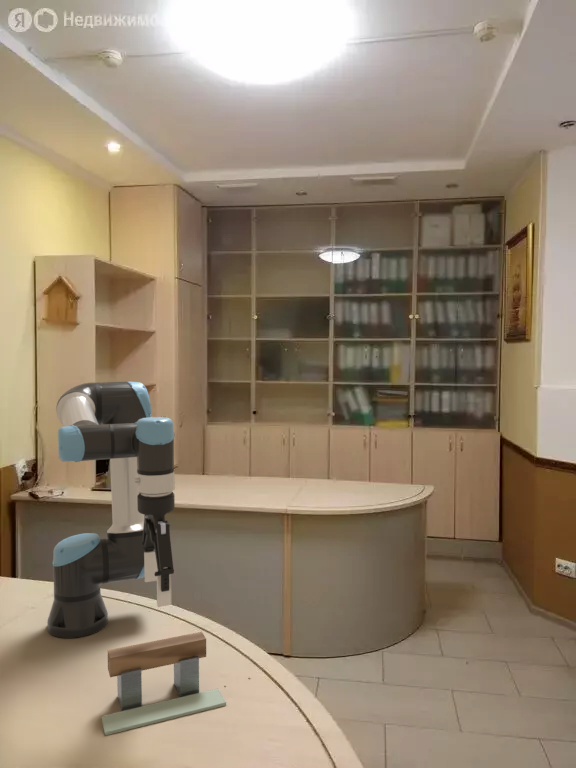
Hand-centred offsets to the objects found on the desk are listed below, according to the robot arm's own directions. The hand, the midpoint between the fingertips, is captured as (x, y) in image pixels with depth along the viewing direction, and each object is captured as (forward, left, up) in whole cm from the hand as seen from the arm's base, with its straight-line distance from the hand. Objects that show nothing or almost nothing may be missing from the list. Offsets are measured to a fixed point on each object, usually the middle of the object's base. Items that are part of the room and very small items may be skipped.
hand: (157, 592), depth 125 cm
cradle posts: (0, 0, -22) cm, 22 cm away
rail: (0, 0, -15) cm, 15 cm away
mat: (+6, 0, -22) cm, 23 cm away
